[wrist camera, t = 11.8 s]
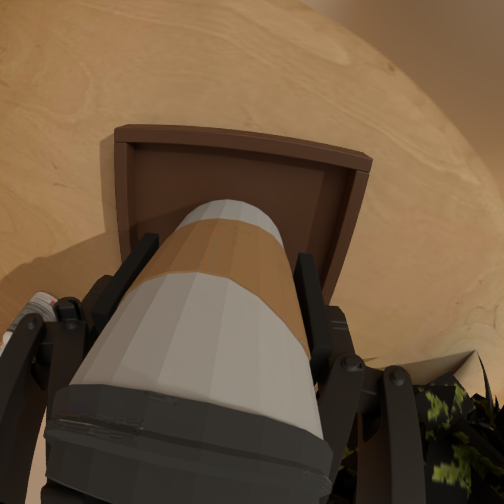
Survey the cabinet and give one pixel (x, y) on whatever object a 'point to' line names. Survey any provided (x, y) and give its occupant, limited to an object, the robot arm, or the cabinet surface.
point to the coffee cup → (198, 379)
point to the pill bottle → (37, 304)
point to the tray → (241, 187)
